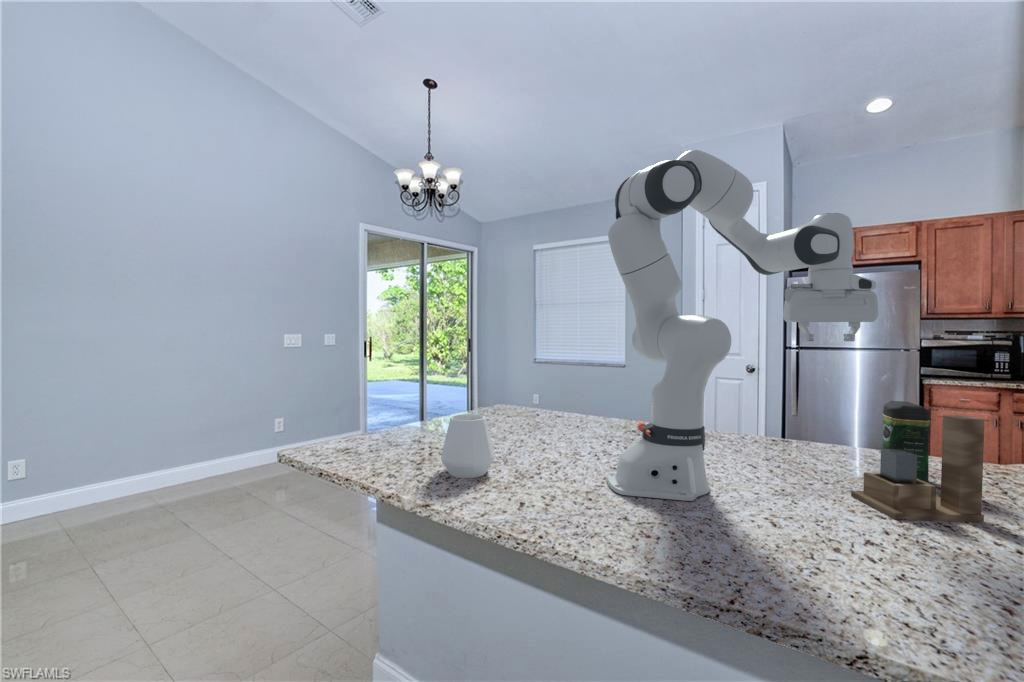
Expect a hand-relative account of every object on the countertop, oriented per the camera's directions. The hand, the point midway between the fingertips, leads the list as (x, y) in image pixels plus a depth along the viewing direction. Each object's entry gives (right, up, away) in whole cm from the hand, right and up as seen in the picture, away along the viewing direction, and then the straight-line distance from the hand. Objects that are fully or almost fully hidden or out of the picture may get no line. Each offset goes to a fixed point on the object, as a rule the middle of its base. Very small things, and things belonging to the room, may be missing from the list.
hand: (828, 341), depth 109 cm
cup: (-87, -33, +5) cm, 93 cm away
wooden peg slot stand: (+5, -34, -17) cm, 38 cm away
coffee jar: (+19, -33, +1) cm, 38 cm away
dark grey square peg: (+2, -32, -17) cm, 36 cm away
